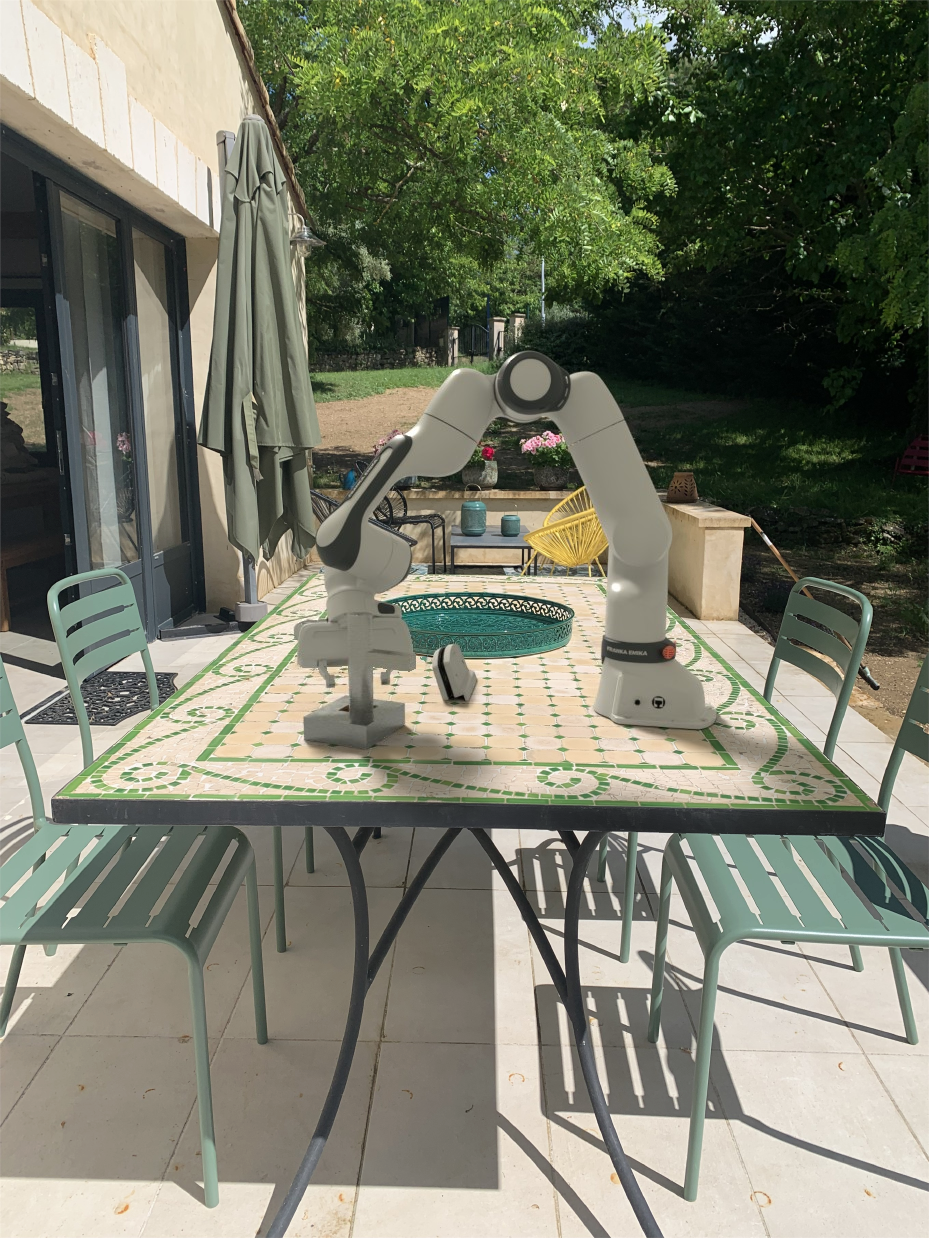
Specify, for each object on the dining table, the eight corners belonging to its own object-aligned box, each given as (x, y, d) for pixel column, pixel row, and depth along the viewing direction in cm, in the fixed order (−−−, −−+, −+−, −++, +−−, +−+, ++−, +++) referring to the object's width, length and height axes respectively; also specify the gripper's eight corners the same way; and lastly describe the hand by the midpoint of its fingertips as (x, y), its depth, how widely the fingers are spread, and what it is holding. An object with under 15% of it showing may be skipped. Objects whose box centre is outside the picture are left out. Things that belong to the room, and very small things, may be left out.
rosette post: (443, 730, 157) (443, 606, 153) (407, 756, 145) (407, 621, 140) (346, 716, 165) (343, 597, 160) (304, 739, 152) (300, 611, 147)
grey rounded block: (468, 701, 174) (451, 653, 173) (445, 708, 175) (428, 660, 173) (477, 678, 190) (461, 634, 189) (456, 685, 191) (440, 641, 190)
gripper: (293, 609, 157) (296, 678, 150) (409, 605, 161) (418, 672, 154) (293, 629, 162) (296, 697, 155) (405, 625, 167) (414, 690, 159)
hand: (358, 684), depth 155 cm, fingers open, 8 cm apart
